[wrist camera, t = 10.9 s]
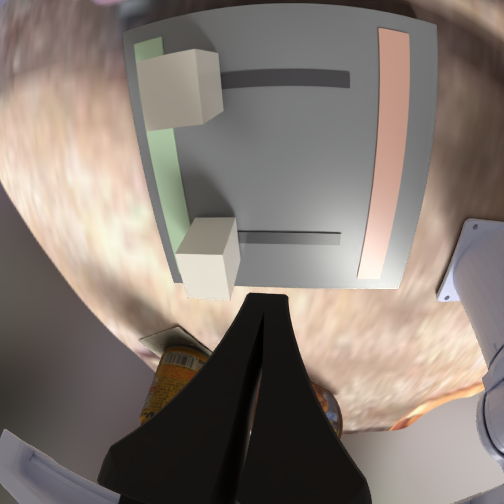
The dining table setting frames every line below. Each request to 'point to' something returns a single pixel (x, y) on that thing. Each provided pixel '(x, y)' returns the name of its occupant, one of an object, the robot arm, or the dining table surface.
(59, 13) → the dining table surface
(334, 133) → the grey board
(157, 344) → the condiment
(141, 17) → the dining table surface
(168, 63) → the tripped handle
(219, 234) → the handle
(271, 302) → the robot arm
